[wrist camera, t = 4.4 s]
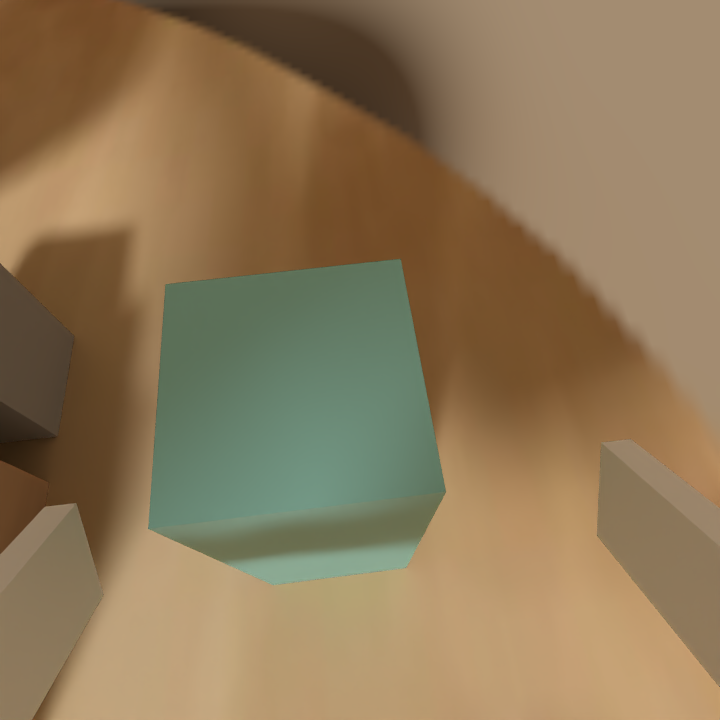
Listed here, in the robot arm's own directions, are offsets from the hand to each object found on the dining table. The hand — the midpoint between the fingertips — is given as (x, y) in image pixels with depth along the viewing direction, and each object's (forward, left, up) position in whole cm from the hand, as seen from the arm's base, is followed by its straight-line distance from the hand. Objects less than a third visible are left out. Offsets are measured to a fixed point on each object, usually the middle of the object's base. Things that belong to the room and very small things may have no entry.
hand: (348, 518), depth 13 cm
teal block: (-2, +1, -7) cm, 8 cm away
